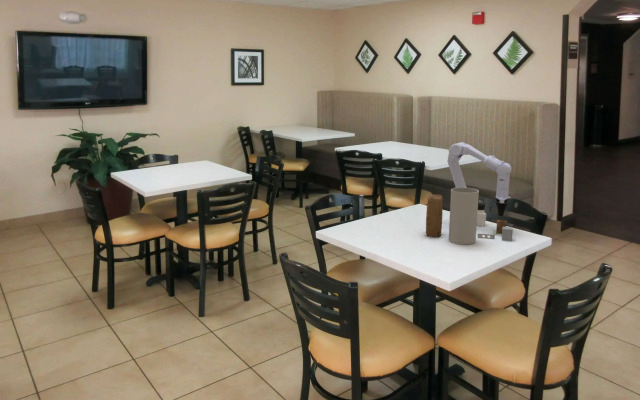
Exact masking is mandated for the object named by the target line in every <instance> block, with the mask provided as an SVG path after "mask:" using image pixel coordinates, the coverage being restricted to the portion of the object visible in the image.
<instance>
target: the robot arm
mask: <svg viewBox="0 0 640 400" xmlns="http://www.w3.org/2000/svg"><path fill="white" fill-rule="evenodd" d="M466 155H467V156H468V155H470V156H471V157H473V158H475V159H477V160H480V161H481V162H483V165H484V166H486V168H489V169H491V170H492V171H494V172H496V174H497V179H496V192H495V193H496V195H495V205H496V207H497V215H498V216H499V217H503V216H504V215H505V211H506V208H507V206H508V204H509V203H508V199H511V196H509V189H510V188H509V187H510V175H511V174H510V173H511V172H512V165H511V164H510V163H508V162H505V161H504V160H500V159H498V158H497V157H496V156H495V155H486V154H484V153H483V152H481V151H480V150H478V149H477V148H475V147H474V146H473V145H470V144H468V143H466V142H465V141H464V142H463V141H461V142H458V143H453V144H452V145H451V146H450V147H449V148H448V156H447V165H448V168H449V172H450V174H451V176H452V180H453V183H454V186H455V187H454V188H468V187H467V184H466V182H465V181H466V180H465V177H464V175H463V172H462V168H461V165H460V161H461V159H462V157H463V156H466Z"/></svg>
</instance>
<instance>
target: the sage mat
mask: <svg viewBox="0 0 640 400" xmlns="http://www.w3.org/2000/svg"><path fill="white" fill-rule="evenodd" d="M492 235H495V236H502V234H496V230H494V229H493V230H492Z"/></svg>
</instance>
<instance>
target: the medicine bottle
mask: <svg viewBox="0 0 640 400" xmlns="http://www.w3.org/2000/svg"><path fill="white" fill-rule="evenodd" d="M485 209H486V204H485V203H483V202H481V201H478V212H477V227H485V226H486V222H487V221H486V220H487V213H486V212H485V211H486V210H485Z"/></svg>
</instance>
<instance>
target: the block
mask: <svg viewBox="0 0 640 400" xmlns="http://www.w3.org/2000/svg"><path fill="white" fill-rule="evenodd" d="M443 199H444V198H443V195H442V194H430V195H428V198H427V204H426V217H425V235H426V236H428V237H432V238H433V237H434V238H436V237H437V238H438V237H440V236H441V235H442V229H443V211H444V210H443V208H444V207H443V206H444V205H443Z"/></svg>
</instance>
